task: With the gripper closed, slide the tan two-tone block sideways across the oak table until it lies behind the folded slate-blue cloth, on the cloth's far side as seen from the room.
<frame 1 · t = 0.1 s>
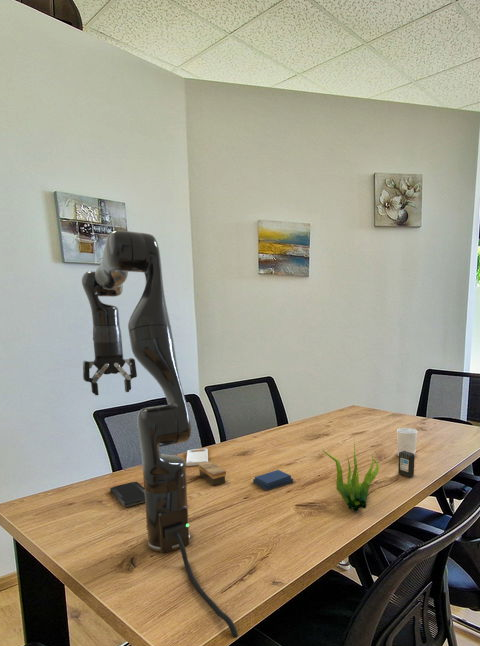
hand: (112, 393, 132), 29 cm above the table, tool pointing down, fingers open, 8 cm apart
folded cloth: (273, 482, 139), on the table
white cup: (406, 456, 165), on the table
decorative plant: (346, 491, 133), on the table
ink cartridge: (405, 475, 146), on the table
tan two-tone block: (212, 479, 141), on the table
phone: (130, 496, 128), on the table
phone case: (197, 459, 160), on the table
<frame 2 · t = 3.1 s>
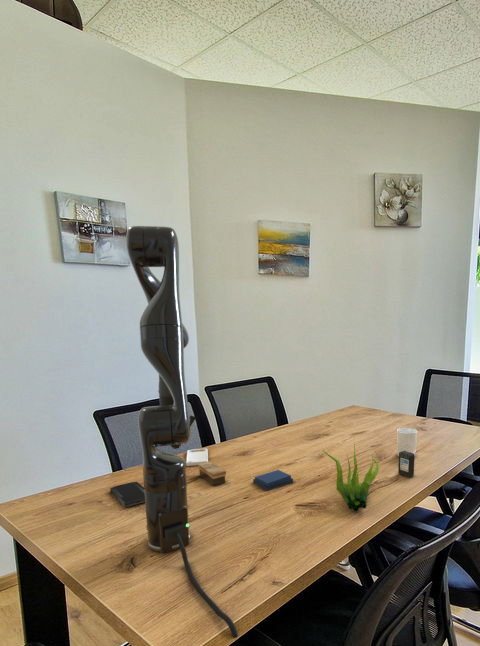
hand: (175, 447, 132), 13 cm above the table, tool pointing down, fingers closed
nothing on the table moved.
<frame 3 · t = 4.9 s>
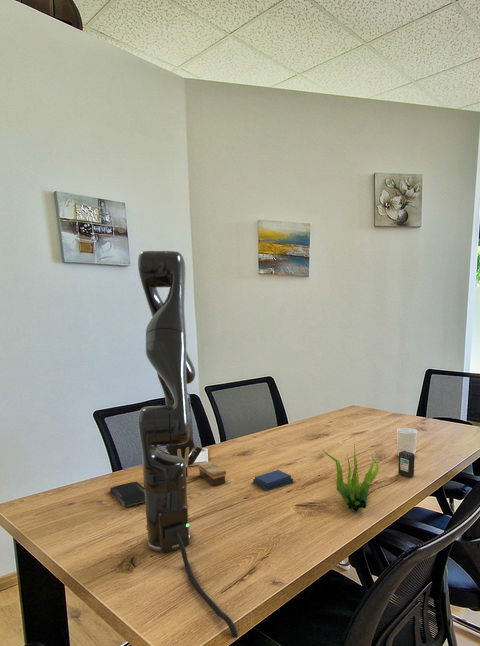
hand: (182, 479, 135), 2 cm above the table, tool pointing down, fingers closed
nothing on the table moved.
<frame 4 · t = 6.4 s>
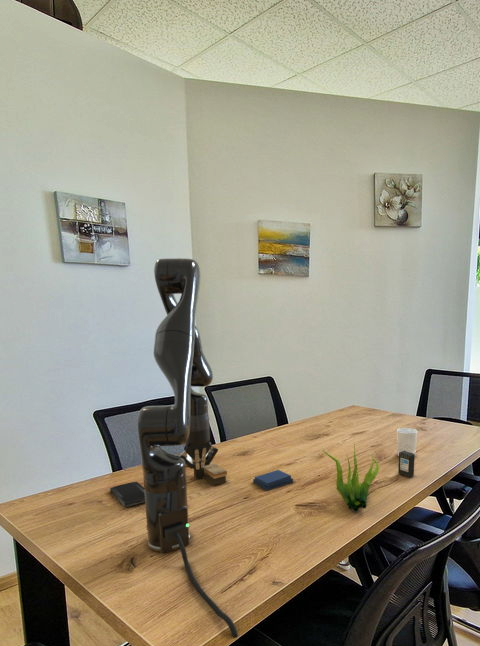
hand: (199, 479, 138), 1 cm above the table, tool pointing down, fingers closed
tan two-tone block: (212, 478, 141), on the table, touching gripper
everything else where it was.
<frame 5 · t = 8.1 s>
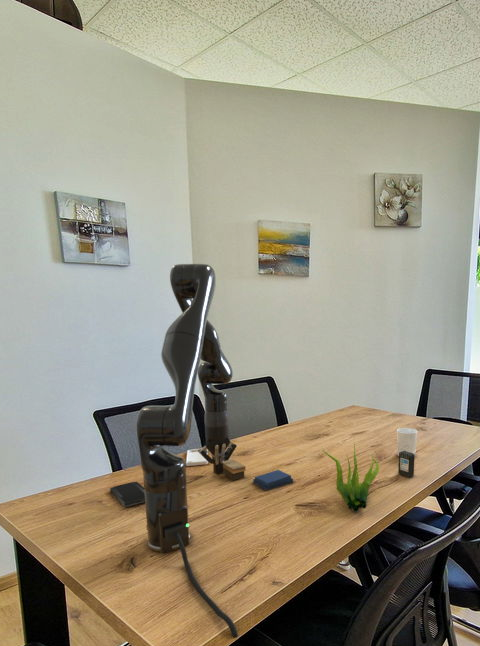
hand: (218, 473, 143), 1 cm above the table, tool pointing down, fingers closed
tan two-tone block: (231, 474, 145), on the table, touching gripper
everything else where it was.
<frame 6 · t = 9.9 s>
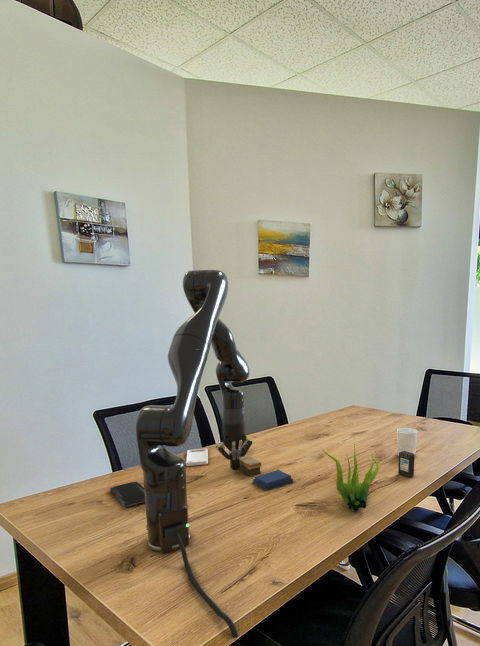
hand: (235, 469, 146), 1 cm above the table, tool pointing down, fingers closed
tan two-tone block: (247, 470, 149), on the table, touching gripper
everything else where it was.
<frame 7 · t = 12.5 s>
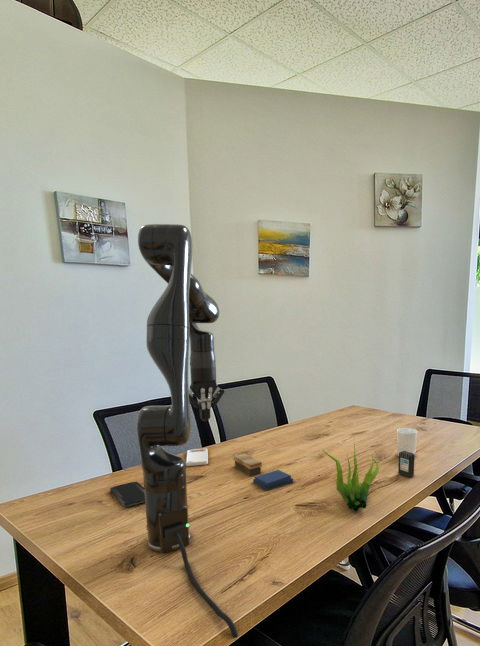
hand: (205, 420, 135), 20 cm above the table, tool pointing down, fingers closed
tan two-tone block: (247, 469, 149), on the table
everything else where it was.
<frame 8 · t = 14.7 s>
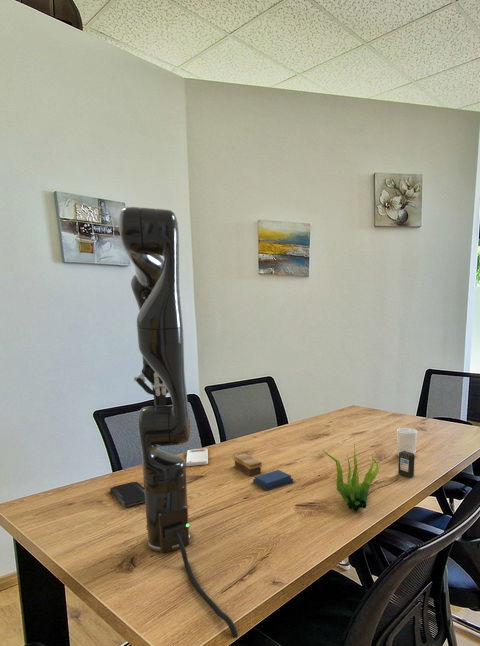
hand: (160, 407, 123), 27 cm above the table, tool pointing down, fingers closed
nothing on the table moved.
at the end: tan two-tone block inside the target area (0.4 cm from its centre), on the table; tan two-tone block moved 12.9 cm from its start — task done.
